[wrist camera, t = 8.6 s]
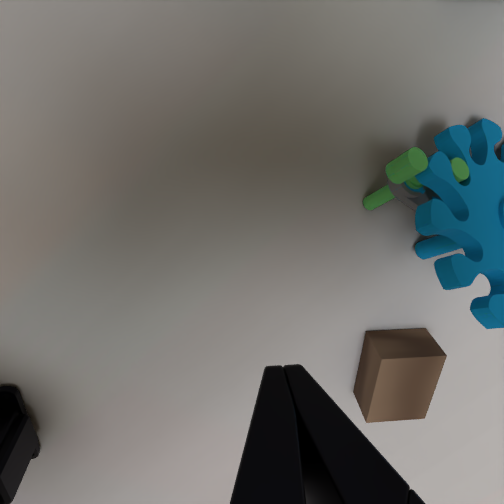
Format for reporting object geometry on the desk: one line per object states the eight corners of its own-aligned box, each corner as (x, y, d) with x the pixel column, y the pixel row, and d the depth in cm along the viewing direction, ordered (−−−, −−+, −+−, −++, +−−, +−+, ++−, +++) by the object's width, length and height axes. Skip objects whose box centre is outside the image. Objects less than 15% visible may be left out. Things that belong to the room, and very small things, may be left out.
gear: (608, 189, 19) (602, 379, 15) (496, 226, 24) (470, 374, 20) (447, 55, 17) (391, 237, 13) (363, 128, 22) (304, 273, 18)
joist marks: (353, 392, 27) (366, 422, 25) (477, -200, 13) (530, -250, 11) (407, 388, 27) (424, 418, 25) (582, -190, 14) (654, -236, 11)
